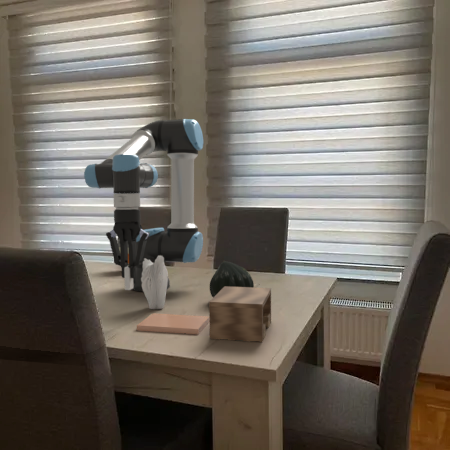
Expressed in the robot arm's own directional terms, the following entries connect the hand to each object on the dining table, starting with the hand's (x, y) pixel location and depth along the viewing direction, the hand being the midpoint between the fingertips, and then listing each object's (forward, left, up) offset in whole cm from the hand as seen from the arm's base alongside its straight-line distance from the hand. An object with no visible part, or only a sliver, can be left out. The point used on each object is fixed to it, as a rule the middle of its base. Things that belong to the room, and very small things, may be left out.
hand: (129, 288), depth 136 cm
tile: (+14, 0, -11) cm, 17 cm away
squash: (+25, +28, -11) cm, 39 cm away
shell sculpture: (+2, +16, -11) cm, 20 cm away
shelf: (+34, 0, -10) cm, 35 cm away
